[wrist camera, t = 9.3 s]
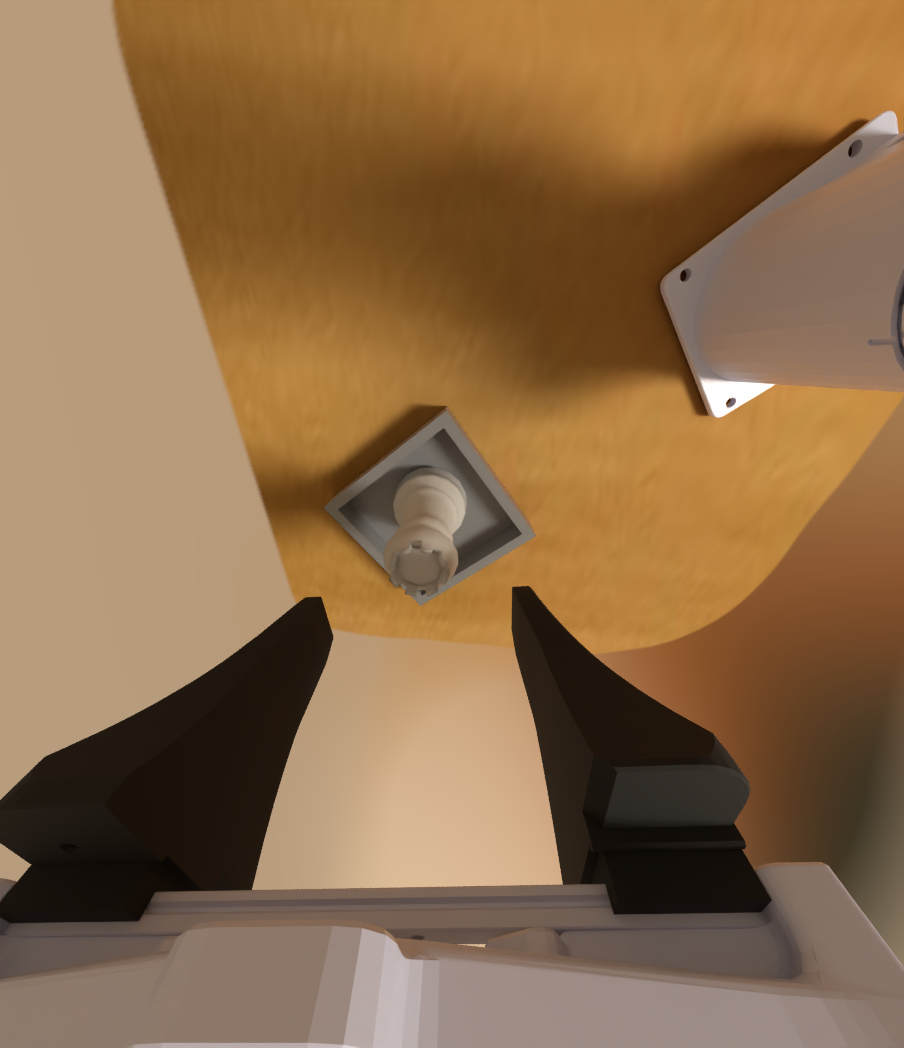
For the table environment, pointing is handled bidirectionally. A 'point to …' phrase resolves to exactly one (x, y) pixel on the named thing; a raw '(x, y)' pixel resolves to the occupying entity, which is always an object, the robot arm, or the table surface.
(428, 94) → the table surface
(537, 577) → the table surface
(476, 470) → the tray
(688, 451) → the table surface
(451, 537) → the rook chess piece
